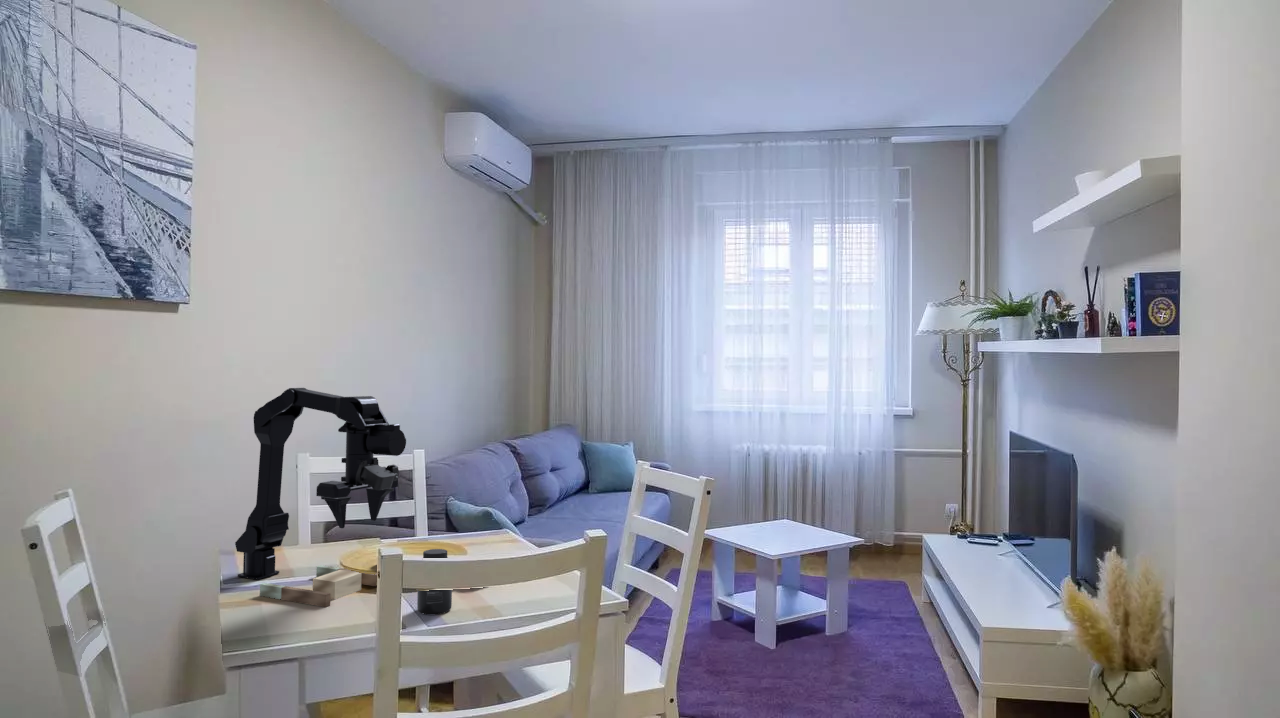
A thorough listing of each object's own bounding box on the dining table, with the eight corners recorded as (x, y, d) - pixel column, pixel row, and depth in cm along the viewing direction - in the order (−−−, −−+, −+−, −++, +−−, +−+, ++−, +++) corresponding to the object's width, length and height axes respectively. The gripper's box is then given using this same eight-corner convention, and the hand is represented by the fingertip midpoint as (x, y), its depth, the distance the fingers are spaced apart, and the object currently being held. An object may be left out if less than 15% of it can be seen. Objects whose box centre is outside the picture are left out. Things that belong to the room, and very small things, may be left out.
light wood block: (312, 597, 164) (312, 578, 164) (339, 587, 171) (340, 569, 171) (334, 600, 161) (335, 581, 161) (361, 590, 169) (361, 572, 169)
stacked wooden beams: (259, 595, 163) (259, 584, 163) (320, 576, 179) (320, 565, 179) (325, 607, 156) (326, 594, 156) (382, 585, 172) (382, 574, 172)
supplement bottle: (458, 607, 158) (459, 549, 158) (439, 617, 152) (440, 556, 152) (429, 603, 160) (431, 546, 160) (409, 613, 154) (411, 553, 154)
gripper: (354, 460, 156) (353, 536, 156) (417, 451, 173) (416, 520, 173) (315, 456, 161) (313, 530, 161) (380, 448, 178) (378, 515, 178)
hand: (358, 524), depth 168 cm, fingers open, 9 cm apart
